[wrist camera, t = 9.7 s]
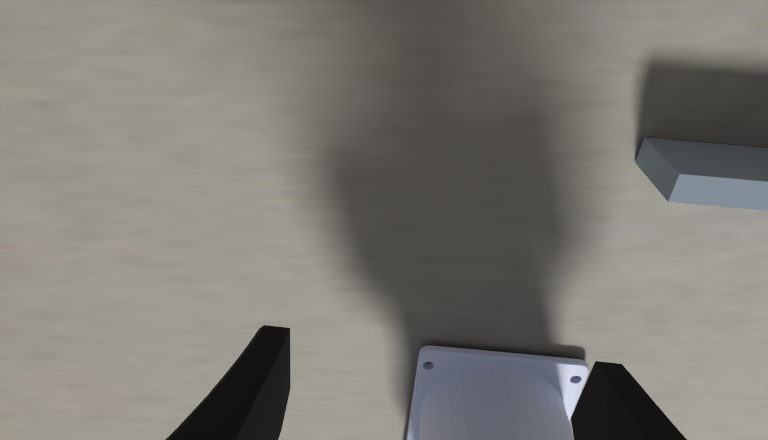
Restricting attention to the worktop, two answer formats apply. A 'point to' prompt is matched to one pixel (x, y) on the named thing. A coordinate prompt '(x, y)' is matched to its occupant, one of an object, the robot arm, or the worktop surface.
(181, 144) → the worktop surface
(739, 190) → the low wall
